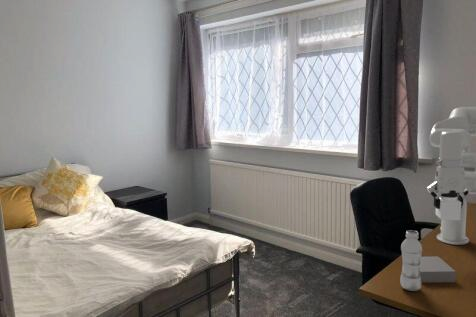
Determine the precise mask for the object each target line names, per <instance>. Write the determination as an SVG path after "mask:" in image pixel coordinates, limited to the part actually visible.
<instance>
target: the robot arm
mask: <svg viewBox="0 0 476 317" xmlns="http://www.w3.org/2000/svg"><path fill="white" fill-rule="evenodd" d="M472 137H476V106H460V107H456V108H454V109H453V110H452V111H451V112H450V114H449V117H448V118H446V119H444V120H441V121H438V122H436V123H435V124H434V125H433V126H432V128H431V130H430V133H429V143H430V145H431V146H432V147H434V148H439V158H438V160H435V164H436V165H438V166H437V167H436V171H435V175H434V181H433V183H431V184H430V185H429V186H427V187H426V190H427V192H428V193H429V194H430V195H431V196H432V197H433V207H434V208H435V209H436V208H437V209H440V199H439V197H440V196H441V194H442V193H443V194H447V193H449V191H451V190H454V191H456V193H458V200H459V201H460V202H461V203H462V205H461V220H441V219H440V228H439V229H440V233H438V234H437V235H436V239H437V241H440V242H442V243H445V244H448V245H456V246H458V245H461V246H462V245H463V246H464V245H467V244H468V243H469V242H470V239H469V238H468V237H467V236H466V228H467V227H466V224H467V207H468V203H467V200H466V199H465V198H466V196H467V195H468V194H470V195H471V194H472V195H476V152H471V150H472V147H471V144H470V143H471V140H472ZM433 189H434V190H435V191H434V190H433Z"/></svg>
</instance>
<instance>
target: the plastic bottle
mask: <svg viewBox="0 0 476 317" xmlns="http://www.w3.org/2000/svg"><path fill="white" fill-rule="evenodd" d="M405 237H406V238H405V239H404V240H403V241H402V243H401V245H400V251H401V257H402V258H401V259H402V267H401V274H400V278H399V281H400V285H401V287H402V288H403V289H404V290H406V291H408V292H409V291H410V292H418V291H419V290H420V289H421V287H422V283H423V282H421V277H420V259H421V257H422V253H423V247H422V244H421V243H420V241H419V240H418V239H419V232H418V231H417V230H411V229H410V230H406V232H405Z"/></svg>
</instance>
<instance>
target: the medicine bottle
mask: <svg viewBox="0 0 476 317" xmlns="http://www.w3.org/2000/svg"><path fill="white" fill-rule="evenodd" d="M439 199H440V209H437V208H436V207H435V215H436V216H437V218H438V219H440V221H441V220H461V205H462V203H461V202H460V201H459V200H458V193H456V191H454V190H451V191H449V193H447V194H443V193H442V194H441V196H440V197H439Z"/></svg>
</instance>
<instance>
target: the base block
mask: <svg viewBox="0 0 476 317" xmlns="http://www.w3.org/2000/svg"><path fill="white" fill-rule="evenodd" d="M456 274H457V273H456V270H455V269H453V267H452V266H450V265H449V264H448V263H447V262H445V261H444V260H443V259H442V258H441V257H439V256H435V255H434V256H421V259H420V277H421V283H456Z"/></svg>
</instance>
